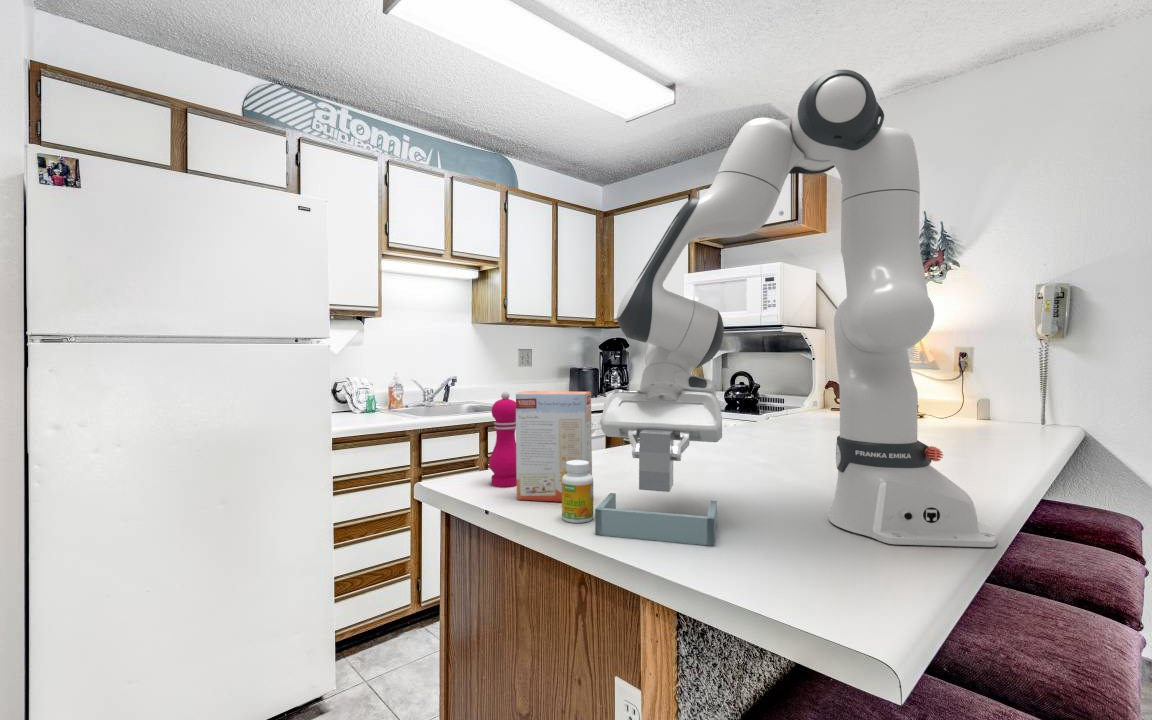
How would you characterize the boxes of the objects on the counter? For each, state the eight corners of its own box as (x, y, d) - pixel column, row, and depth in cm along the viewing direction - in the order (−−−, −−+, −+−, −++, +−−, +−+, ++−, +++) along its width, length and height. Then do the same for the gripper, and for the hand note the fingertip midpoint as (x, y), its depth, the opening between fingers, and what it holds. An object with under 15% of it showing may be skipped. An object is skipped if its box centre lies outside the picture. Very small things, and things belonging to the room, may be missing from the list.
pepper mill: (520, 488, 113) (519, 393, 113) (486, 487, 113) (485, 393, 113) (524, 479, 120) (523, 390, 120) (492, 479, 121) (491, 390, 120)
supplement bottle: (559, 522, 90) (558, 465, 90) (565, 513, 95) (564, 458, 95) (591, 524, 89) (590, 466, 89) (595, 514, 94) (595, 459, 94)
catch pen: (716, 525, 88) (716, 500, 88) (714, 546, 79) (714, 519, 79) (610, 515, 94) (610, 492, 94) (595, 534, 84) (595, 509, 84)
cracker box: (593, 496, 106) (592, 390, 106) (586, 504, 101) (586, 393, 100) (525, 492, 110) (524, 389, 109) (515, 500, 104) (514, 392, 103)
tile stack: (673, 484, 88) (673, 430, 88) (669, 492, 84) (670, 434, 84) (644, 482, 90) (644, 428, 90) (638, 489, 85) (639, 432, 85)
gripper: (604, 378, 96) (589, 442, 87) (723, 381, 90) (720, 449, 81) (610, 401, 100) (596, 464, 91) (723, 405, 94) (721, 473, 85)
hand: (656, 457), depth 86 cm, fingers closed on tile stack, 5 cm apart
